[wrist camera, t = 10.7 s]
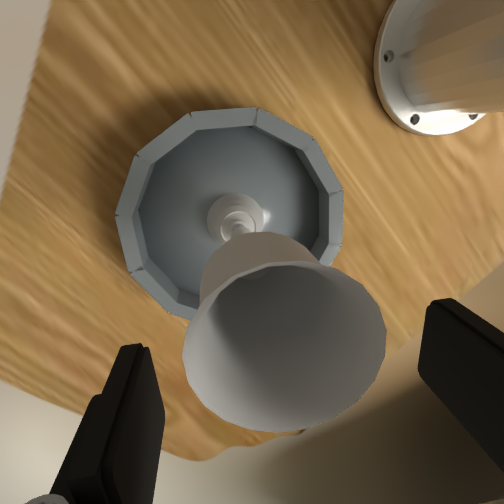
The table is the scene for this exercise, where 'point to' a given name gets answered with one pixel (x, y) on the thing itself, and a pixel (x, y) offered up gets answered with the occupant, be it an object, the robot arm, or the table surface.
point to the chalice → (277, 328)
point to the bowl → (215, 186)
